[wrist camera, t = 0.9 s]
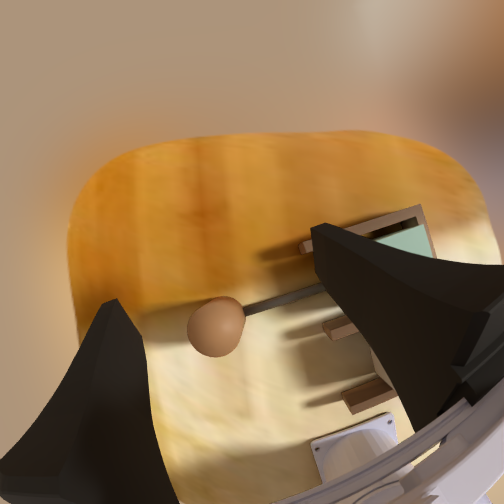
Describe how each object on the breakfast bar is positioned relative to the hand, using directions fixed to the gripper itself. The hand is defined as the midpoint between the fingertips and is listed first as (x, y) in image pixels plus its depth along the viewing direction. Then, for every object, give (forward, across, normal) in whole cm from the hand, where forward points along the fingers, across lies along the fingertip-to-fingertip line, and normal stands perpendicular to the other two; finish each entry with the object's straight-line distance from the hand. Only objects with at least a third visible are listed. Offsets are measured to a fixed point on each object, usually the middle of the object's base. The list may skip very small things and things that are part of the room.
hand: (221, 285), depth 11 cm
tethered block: (+8, -6, +10) cm, 15 cm away
